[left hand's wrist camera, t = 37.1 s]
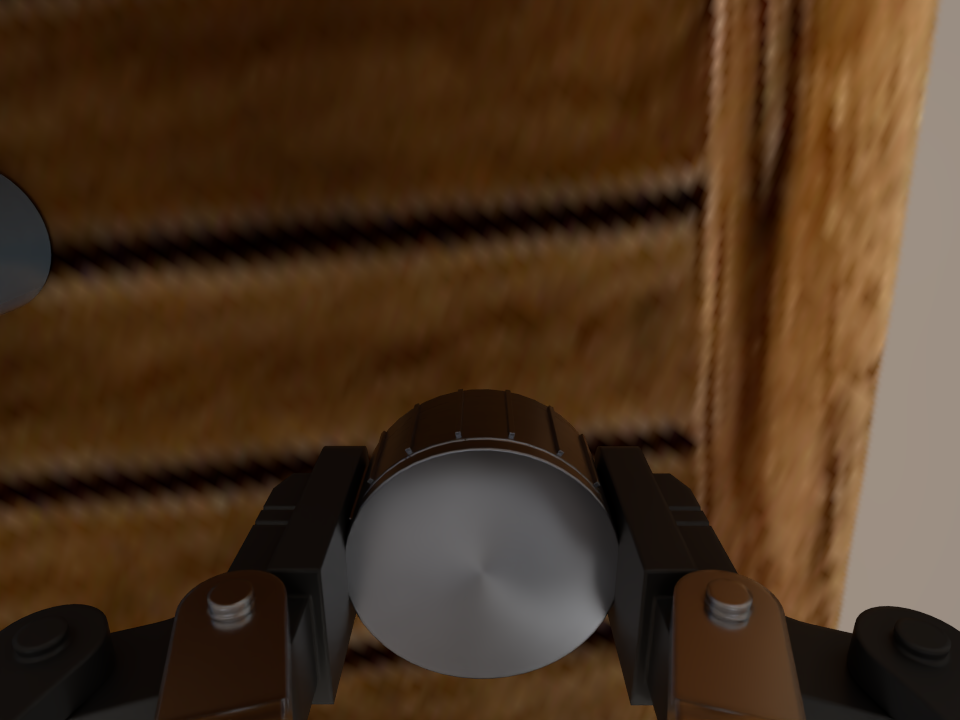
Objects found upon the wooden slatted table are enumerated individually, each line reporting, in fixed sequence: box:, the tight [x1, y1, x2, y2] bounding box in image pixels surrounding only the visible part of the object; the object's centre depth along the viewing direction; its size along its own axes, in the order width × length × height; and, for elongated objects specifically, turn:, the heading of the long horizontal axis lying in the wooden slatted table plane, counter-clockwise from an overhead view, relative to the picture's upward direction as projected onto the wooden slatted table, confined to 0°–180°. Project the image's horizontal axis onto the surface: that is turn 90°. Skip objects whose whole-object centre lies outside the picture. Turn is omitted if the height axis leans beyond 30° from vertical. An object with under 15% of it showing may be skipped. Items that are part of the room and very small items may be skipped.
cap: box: [345, 389, 619, 679], centre depth 11 cm, size 4×4×2 cm
